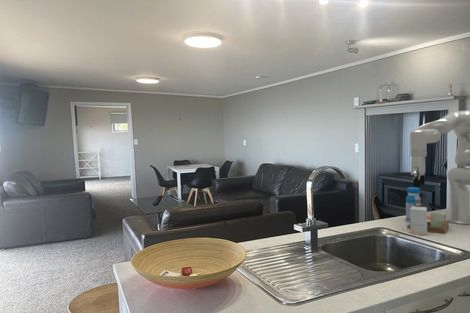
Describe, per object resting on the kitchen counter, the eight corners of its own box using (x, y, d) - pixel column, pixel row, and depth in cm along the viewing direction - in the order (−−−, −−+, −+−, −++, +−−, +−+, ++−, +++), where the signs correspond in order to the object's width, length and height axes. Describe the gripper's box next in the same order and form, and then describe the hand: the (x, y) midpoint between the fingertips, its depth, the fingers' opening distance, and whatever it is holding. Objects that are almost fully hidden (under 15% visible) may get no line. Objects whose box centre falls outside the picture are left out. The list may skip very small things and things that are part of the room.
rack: (412, 224, 189) (412, 208, 188) (448, 229, 177) (448, 212, 176) (407, 228, 181) (407, 212, 180) (444, 233, 169) (444, 216, 168)
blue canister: (405, 222, 194) (405, 188, 193) (406, 218, 201) (406, 186, 200) (421, 223, 189) (421, 189, 188) (422, 220, 196) (422, 187, 195)
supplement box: (427, 230, 173) (427, 207, 172) (426, 234, 167) (426, 210, 166) (411, 228, 177) (411, 205, 177) (409, 232, 171) (409, 208, 171)
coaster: (411, 229, 178) (411, 228, 178) (430, 232, 172) (430, 231, 172) (406, 233, 172) (406, 232, 172) (426, 236, 166) (426, 235, 166)
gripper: (414, 152, 181) (415, 182, 182) (406, 155, 168) (407, 187, 169) (430, 152, 176) (430, 183, 177) (422, 155, 163) (423, 188, 164)
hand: (419, 185), depth 173 cm, fingers open, 9 cm apart
